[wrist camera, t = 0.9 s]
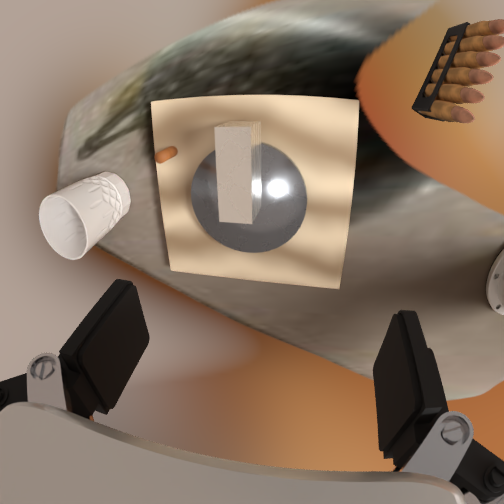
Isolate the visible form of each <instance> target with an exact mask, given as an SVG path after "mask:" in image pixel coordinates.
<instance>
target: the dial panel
mask: <svg viewBox="0 0 504 504" xmlns="http://www.w3.org/2000/svg"><path fill="white" fill-rule="evenodd" d="M151 111H152V124H153V136H154V147H155V156H154V159H155V161H156V167H157V176H158V185H159V193H160V201H161V208H162V216H163V223H164V230H165V236H166V243H167V249H168V255H169V261H170V267H171V271H179V272H187V273H195V274H203V275H211V276H220V277H228V278H237V279H246V280H255V281H264V282H273V283H283V284H292V285H302V286H312V287H323V288H333V289H339V287H340V281H341V275H342V269H343V263H344V256H345V249H346V242H347V235H348V227H349V219H350V211H351V203H352V193H353V184H354V173H355V162H356V149H357V134H358V117H359V100H352V99H342V98H330V97H316V96H298V95H223V96H204V97H190V98H179V99H168V100H159V101H153V102H151ZM229 121H261V142H264V143H267V144H269V145H272V146H274V147H276V148H278V149H279V150H281V151H282V152H284V153H285V154H286V155H287V156H288V157H289V158H290V159H291V160H292V161H293V162H294V163H295V164H296V166H297V167H298V169H299V170H300V172H301V174H302V176H303V178H304V181H305V185H306V189H307V208H306V214H305V217H304V220H303V222H302V225H301V227H300V228H299V230H298V231H297V233H296V234H295V235H294V236H293V237H292V238H291V239H290V240H289V241H288V242H286V243H285V244H283V245H282V246H280V247H278V248H276V249H273V250H270V251H266V252H260V253H247V252H241V251H237V250H233V249H231V248H228V247H226V246H224V245H222V244H221V243H219V242H218V241H216V240H215V239H214V238H212V237H211V236H210V235H209V234H208V233H207V232H206V231H205V230H204V228H203V227H202V226H201V224H200V222H199V221H198V219H197V217H196V215H195V212H194V209H193V206H192V200H191V185H192V181H193V177H194V174H195V172H196V170H197V168H198V166H199V165H200V163H201V162H202V161H203V159H204V158H205V157H206V156H208V155H209V154H210V153H211V152H213V151H214V150H215V129H214V127H216V126H218V125H221V124H224V123H226V122H229Z"/></svg>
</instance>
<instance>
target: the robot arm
mask: <svg viewBox="0 0 504 504" xmlns="http://www.w3.org/2000/svg"><path fill="white" fill-rule="evenodd" d="M486 295H487V298H488V301H489V303H490V305H491V307H492V308H493V309H494V311H496V312H497V313H499V314H502V315H504V249H503V250H502V252H501V253H500V254H499V256H498V257H497V258H496V260H495V262H494V263H493V265H492V267H491V270H490V272H489V275H488V279H487V284H486ZM148 343H149V333H148V329H147V326H146V322H145V319H144V315H143V311H142V308H141V304H140V300H139V296H138V292H137V289H136V286H134V285H133V283H132V282H131V281H127V280H121V279H116V280H115V281H114V282H113V284H112V285H111V286H110V287H109V288H108V290H107V291H106V292H105V293H104V295H103V296H102V297H101V298H100V299H99V301H98V302H97V303H96V304H95V305H94V307H93V308H92V309H91V311H90V312H89V313H88V314H87V316H86V317H85V318H84V319H83V321H82V322H81V323H80V324H79V326H78V327H77V328H76V330H75V331H74V332H73V334H72V335H71V336H70V338H69V339H68V340H67V342H66V343H65V344H64V346H63V347H62V348H61V350H60V351H59V352H60V355H59V356H58V357H57V356H56V355H54V354H52V353H43V354H40V355H38V356H36V357H35V358H33V359H32V361H31V362H30V363H29V365H28V368H27V373H25V374H23V375H19V376H16V377H13V378H10V379H7V380H4V381H1V382H0V504H504V461H502V460H501V459H500V458H498V457H497V456H496V455H494V454H493V453H492V452H490V451H489V450H487V449H486V448H485V447H483V446H482V445H481V444H479V443H478V442H477V441H475V440H474V439H473V426H472V423H471V422H470V420H469V419H468V418H467V417H466V416H465V415H463V414H462V413H459V412H455V411H451V412H449V411H448V406H447V402H446V398H445V394H444V389H443V386H442V382H441V378H440V374H439V371H438V367H437V363H436V360H435V357H434V353H433V351H432V350H431V349H430V348H427V345H426V341H425V338H424V335H423V332H422V328H421V325H420V322H419V319H418V316H417V313H416V312H415V311H406V310H400V311H399V312H398V314H394V315H393V317H392V320H391V322H390V325H389V328H388V330H387V333H386V336H385V338H384V341H383V343H382V346H381V348H380V351H379V353H378V356H377V358H376V361H375V363H374V367H373V377H374V386H375V397H376V408H377V423H378V439H379V450H380V451H383V453H384V459H387V458H393V464H394V465H395V467H394V468H393V469H392V471H391V472H347V471H318V470H303V469H291V468H281V467H273V466H265V465H257V464H250V463H244V462H238V461H232V460H226V459H221V458H216V457H211V456H207V455H202V454H197V453H193V452H189V451H185V450H181V449H177V448H173V447H169V446H166V445H162V444H159V443H155V442H152V441H149V440H145V439H142V438H139V437H136V436H133V435H130V434H127V433H124V432H121V431H118V430H115V429H113V428H110V427H107V426H104V425H102V424H99V423H96V422H94V419H93V413H94V411H95V410H96V411H98V412H101V413H103V414H106V415H107V414H108V412H109V410H110V409H113V408H114V407H115V405H116V403H117V401H118V399H119V397H120V395H121V394H122V392H123V390H124V388H125V386H126V384H127V382H128V380H129V378H130V377H131V375H132V373H133V371H134V369H135V367H136V365H137V364H138V362H139V360H140V358H141V356H142V354H143V353H144V350H145V349H146V347H147V345H148Z"/></svg>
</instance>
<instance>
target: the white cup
mask: <svg viewBox="0 0 504 504" xmlns="http://www.w3.org/2000/svg"><path fill="white" fill-rule="evenodd" d="M130 203H131V199H130V193H129V189H128V188H127V186H126V184H125V182H124V180H122V179H121V178H120V177H119V176H118V175H116V174H115V173H111V172H107V171H105V172H103V173H100V174H97V175H95V176H92V177H88V178H86V179H83V180H80V181H78V182H76V183H74V184H71V185H69V186H67V187H65V188H63V189H61V190H59V191H57V192H55V193H53V194H51V195H48V196H47V197H45V198H44V199H43V201H42V202H41V205H40V208H39V222H40V226H41V229H42V232H43V234H44V237H45V239H46V240H47V242H48V243H49V245H50V246H51V247H52V248H53V249H54V250H55V251H56V252H57V253H58V254H59V255H61V256H62V257H64V258H67V259H71V260H76V259H79V258H81V257H83V256H84V255H85V254H86V252H88V251H89V250H90V249H91V248H92V247H93V246H94V245H95V244H96V243H97V242H98V241H99V240H100V239H101V238H102V237H103V236H105V235H106V234H107V233H108V232H109V231H110V230H111V229H112V228H113V227H114V226H115V225H116V223H117V222H118V221H119V220H120V219H121V218H123V216H124V215H125V214H126V213H127V212H128V211H129V207H130Z"/></svg>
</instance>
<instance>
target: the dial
mask: <svg viewBox="0 0 504 504" xmlns="http://www.w3.org/2000/svg"><path fill="white" fill-rule="evenodd" d="M214 129H215V150H214V151H213V152H211V153H210V154H209V155H208V156H206V157H205V158H204V159H203V161H202V162H201V163H200V165H199V166H198V168H197V170H196V172H195V174H194V177H193V181H192V185H191V200H192V206H193V209H194V212H195V215H196V217H197V219H198V221H199V222H200V224H201V226H202V227H203V228H204V230H205V231H206V232H207V233H208V234H209V235H210V236H211V237H212V238H214V239H215V240H216V241H218V242H219V243H221V244H222V245H224V246H226V247H228V248H231V249H233V250H237V251H241V252H247V253H260V252H266V251H270V250H273V249H276V248H278V247H280V246H282V245H283V244H285V243H286V242H288V241H289V240H290V239H291V238H292V237H293V236H294V235H295V234H296V233H297V231H298V230H299V228H300V227H301V225H302V222H303V220H304V217H305V214H306V208H307V189H306V185H305V181H304V178H303V176H302V174H301V172H300V170H299V169H298V167H297V166H296V164H295V163H294V162H293V161H292V160H291V159H290V158H289V157H288V156H287V155H286V154H285V153H284V152H282V151H281V150H279V149H278V148H276V147H274V146H272V145H269V144H267V143H264V142H261V121H229V122H226V123H224V124H221V125H218V126H216V127H214Z"/></svg>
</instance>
